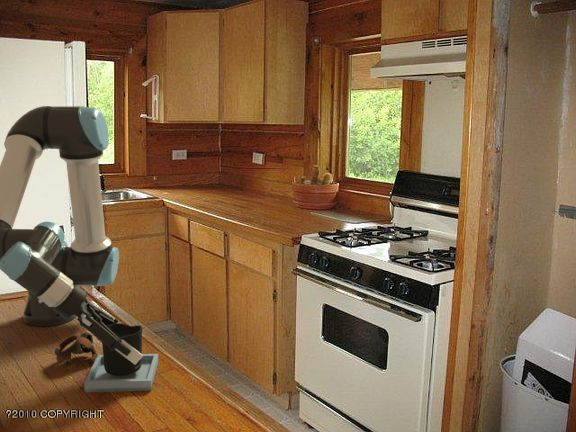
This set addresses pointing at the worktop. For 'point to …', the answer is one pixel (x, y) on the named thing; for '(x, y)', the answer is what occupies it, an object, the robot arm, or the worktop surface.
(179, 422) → the worktop surface
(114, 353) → the pen holder
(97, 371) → the tray
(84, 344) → the brown hollow rounded piece
